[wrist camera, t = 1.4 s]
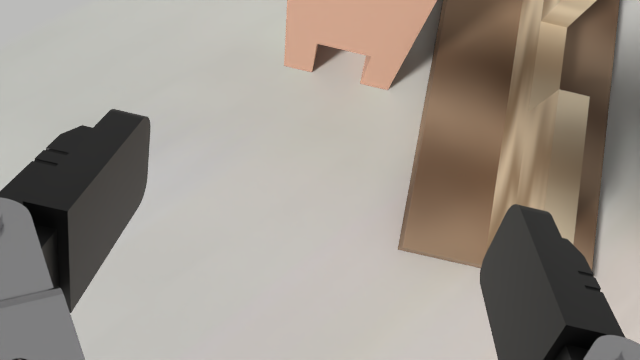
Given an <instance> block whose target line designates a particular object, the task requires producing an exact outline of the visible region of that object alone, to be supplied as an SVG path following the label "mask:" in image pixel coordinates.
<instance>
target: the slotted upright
mask: <svg viewBox="0 0 640 360" xmlns="http://www.w3.org/2000/svg"><path fill="white" fill-rule="evenodd" d="M436 1H437V0H287V19H286V40H285V61H284V66H288V67H292V68H296V69H301V70H305V71H309V72H312V70H313V66H314V61H315V57H316V53H317V49H318V44H320V45H325V46H329V47H333V48H337V49H342V50H346V51H350V52H354V53H359V54H363V55H366V59H365V63H364V68H363V73H362V78H361V82H360V84H365V85H369V86H373V87H377V88H382V89H386V90H388V89H389V87H390V85H391V83H392V81H393V79H394V78H395V76H396V74H397V72H398V70H399V69H400V67H401V65H402V63H403V61H404V59H405V58H406V56H407V54H408V52H409V50H410V49H411V47H412V45H413V43H414V41H415V40H416V38H417V36H418V34H419V32H420V30H421V29H422V27H423V25H424V23H425V21H426V20H427V18H428V16H429V14H430V12H431V11H432V9H433V7H434V5H435V3H436Z"/></svg>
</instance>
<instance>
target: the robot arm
mask: <svg viewBox="0 0 640 360" xmlns="http://www.w3.org/2000/svg"><path fill="white" fill-rule="evenodd" d="M149 141H150V120H149V118H148V117H145V116H141V115H137V114H133V113H128V112H124V111H120V110H116V109H112V110H110V111H109V112H108V113H107V114H106V115H105V116H104V117H103V118H102V119H101V120H100V121H99V122H98V123H97V124H96V125H95V127H94V128H91V127H87V126H83V125H82V126H79V127H77V128H75V129H72V130H70V131H67V132H65V133H63V134H60V135H59V136H58V137H57V138H56V139H55V140H54V141H53V142H52V143H51V144H50V145H49V146H48V147H46V151H45V150H43V151H42V152H41V153H40V154H39V155H38V156H37V157H36V158H35V161H34V162H33V161H32V162H31V163H30V164H29V165H28V166H26V167H25V168H24V169H23V170H22V171H21V172H20V173H19V174H18V175H17V176H16V177H15V178H14V179H13V180H12V181H11V182H10V183H9V184H7V185H6V186H5V187H4V188H3V189H2V190H1V191H0V360H85V358H84V355H83V352H82V349H81V346H80V343H79V340H78V337H77V333H76V330H75V327H74V324H73V321H72V318H71V315H70V313H71V312H72V310H73V309H74V307H75V306H76V304H77V303H78V301H79V299H80V298H81V296H82V295H83V293H84V292H85V290H86V288H87V287H88V285H89V284H90V282H91V281H92V279H93V277H94V276H95V274H96V273H97V271H98V270H99V268H100V266H101V265H102V263H103V262H104V260H105V259H106V257H107V255H108V254H109V252H110V251H111V249H112V248H113V246H114V244H115V243H116V241H117V240H118V238H119V237H120V235H121V233H122V232H123V230H124V229H125V227H126V226H127V224H128V222H129V221H130V219H131V218H132V216H133V215H134V213H135V212H136V210H137V208H138V207H139V205H140V203H141V201H142V198H143V195H144V192H145V188H146V183H147V174H148V157H149ZM480 284H481V289H482V293H483V297H484V302H485V306H486V310H487V314H488V318H489V323H490V327H491V331H492V335H493V339H494V344H495V348H496V352H497V356H498V360H640V344H638V343H636V342H634V341H632V340H630V339H627V338H625V336H624V334H623V332H622V330H621V328H620V326H619V324H618V322H617V320H616V318H615V316H614V314H613V312H612V310H611V308H610V306H609V304H608V302H607V300H606V298H605V296H604V294H603V293H602V292H600V289H601V288H600V286H599V284H598V282H597V280H596V278H594V277H593V272H592V270H591V268H590V266H589V264H588V262H587V260H586V258H585V256H584V255H583V254H582V253H581V252H580V251H579V250H578V249H577V248H576V247H575V246H574V245H573V244H572V243H571V242H570V241H569V240H568V239H565V238H562V236H561V234H560V232H559V230H558V228H557V226H556V224H555V221H554V219H553V217H552V215H551V214H550V213H549V212H547V211H543V210H539V209H535V208H530V207H526V206H522V205H518V204H514V205H512V206H511V207H510V208H509V209H508V211H507V212H506V214H505V216H504V218H503V220H502V222H501V224H500V226H499V228H498V230H497V232H496V234H495V236H494V238H493V240H492V242H491V244H490V246H489V248H488V250H487V252H486V254H485V257H484V259H483V262H482V266H481V271H480Z"/></svg>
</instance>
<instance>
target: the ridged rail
mask: <svg viewBox="0 0 640 360" xmlns="http://www.w3.org/2000/svg"><path fill="white" fill-rule="evenodd" d="M619 1H620V0H443V4H442V9H441V15H440V20H439V26H438V31H437V37H436V42H435V48H434V53H433V59H432V64H431V70H430V75H429V81H428V86H427V92H426V97H425V103H424V108H423V114H422V119H421V125H420V130H419V136H418V141H417V147H416V152H415V158H414V163H413V169H412V174H411V180H410V185H409V191H408V196H407V202H406V207H405V213H404V218H403V224H402V230H401V235H400V241H399V246H398V250H403V251H407V252H411V253H416V254H420V255H425V256H429V257H434V258H438V259H443V260H447V261H452V262H456V263H460V264H465V265H469V266H474V267H478V268H481V266H482V262H483V259H484V257H485V254H486V252H487V250H488V248H489V246H490V244H491V242H492V240H493V238H494V236H495V234H496V232H497V230H498V228H499V226H500V224H501V222H502V220H503V218H504V216H505V214H506V212H507V211H508V209H509V208H510V207H511V206H512V205H514V204H518V205H522V206H526V207H530V208H535V209H539V210H543V211H547V212H549V213H550V214H551V215H552V217H553V219H554V221H555V224H556V226H557V228H558V230H559V232H560V234H561V236H562V238H565V239H568V240H569V241H570V242H571V243H572V244H573V245H574V246H575V247H576V248H577V249H578V250H579V251H580V252H581V253H582V254H583V255H584V256H585V258H586V260H587V262H588V264H589V266H590V268H591V270H592V265H593V255H594V245H595V235H596V226H597V216H598V206H599V196H600V186H601V177H602V167H603V157H604V147H605V138H606V128H607V118H608V108H609V98H610V89H611V79H612V69H613V59H614V50H615V40H616V30H617V20H618V10H619Z"/></svg>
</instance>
